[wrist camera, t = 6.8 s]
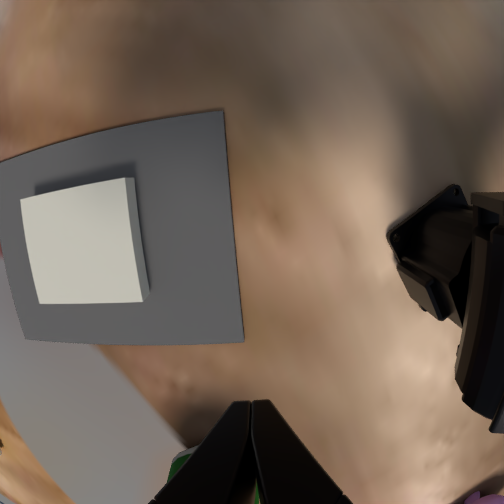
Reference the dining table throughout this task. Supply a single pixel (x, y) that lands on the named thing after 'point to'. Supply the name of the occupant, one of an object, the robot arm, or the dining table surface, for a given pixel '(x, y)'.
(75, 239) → the tile
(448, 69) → the dining table surface
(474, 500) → the teapot
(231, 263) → the mat
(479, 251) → the robot arm
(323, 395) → the dining table surface
